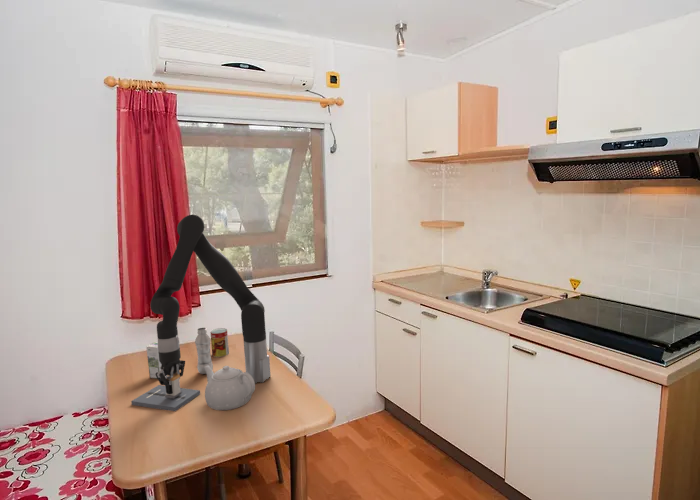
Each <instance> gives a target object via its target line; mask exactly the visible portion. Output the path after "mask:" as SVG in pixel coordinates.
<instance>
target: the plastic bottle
mask: <svg viewBox="0 0 700 500" xmlns="http://www.w3.org/2000/svg"><path fill="white" fill-rule="evenodd" d="M207 333H208V332H207V327H198V328H197V336H196V337H195V341H194V343H195V346H196V351H197V352H196V353H197V367H196V368H197V371H198V373H199V374H201V375H207V374H206V371H205V370H204V369H203V368H204V367H205V366H210V368H211V369H212V371H213V370H214V369H213V368H214V365H213V360H212V357H211V355H212V354H211V336H209V335H208V334H207Z"/></svg>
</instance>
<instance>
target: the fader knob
mask: <svg viewBox="0 0 700 500" xmlns="http://www.w3.org/2000/svg"><path fill="white" fill-rule="evenodd" d="M167 376H170V375H167ZM179 377H180V374H178V375H175V374H173V378H172V379H171V381H172V390H173V393H172V394H167V393H166V395H165V397H166V398H173V399H174V398H176V397H177V396H179V395H180V394H182V391H180V388H181V384H180V382H181V381H180V379H179ZM180 378H181V377H180ZM167 380H168V381H169V379H167Z"/></svg>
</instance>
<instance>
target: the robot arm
mask: <svg viewBox="0 0 700 500" xmlns="http://www.w3.org/2000/svg"><path fill="white" fill-rule="evenodd" d="M176 230H177V234H178V237H179V238H178V242H177V245H176V248H175V250H174V252H173V254H172V256H171V258H170V261H169V263H168V265H167V267H166V269H165V273H164V275H163V279H162V282H161V283H160V285H159V286H158V288H157V290H156V291H155V292H154V294H153V295H152V298H151V301H150V307H149V308H150V310H151V312H153V313H154V314H155V315H162V320H161V321H158V323H157V324H156V334H157V335H156V336H157V342H158V354H159V361H160V363H161V370H160V372H159V373H158V372H157V373H156V377H157V379H156V380H157V381H158V382H159V385H163V386H166V393H167V394H172V393H173V390H172V381H171V379H172V378H173V374H175V375H178V374H180V377H179V380H180V379H181V377H184V371H185V366H186V360H183V359H182V360H181V347H180V346H181V345H180V338H179V333H178V320H179V317H180V316H179V315H180V308H181V307H180V303H179V300H178V299H177V298H176V297H174V296H172V295H173V294H174V293H175V292H179V291H180V290H181V289H182V286H183V283H184V280H185V277H186V274H187V271H188V268H189V264H190V261H191V258H192V255H193V253H195V255H196V256H197V257H198V259H199V261H200V262H201V264H202V265H203V267H204V268H205V269H206V271H207V272H208V273H209V275H210V276H211V278H212V279H213V280H214V282H215V283H216V284H217V286H219V287H220V288H221V289H222V290H224V291H225V292H226V293H228V294H229V296H231V298H233V300H234V301H235V303H236V304H237V306H238V307H239V309H240V311H241V313H240V319H241V320H240V321H241V331H242V333H241V334H242V338H243V339H242V340H243V351H244V354H243V355H244V366H245V367H244V369H245V372H247V373H249V374H250V375H251V376H252V378H253V379H254V382H255V384H258V383H257V382H260V383H265V382H266V381H267V380H268V379H270V378H271V377H270V376H272V375H271V363H270V360H271V359H270V355H269V354H268V349H267V348H268V347H267V332H266V321H265V320H266V319H265V311H266V310H265V305H264V304H263V303H262V302H261V301H260V299H259V298H258V297H257V296H256V295H255V294H254V293H253V292H252V291H251V290H250V289H249V288H248V286H247V284H246V283H245V282H244V280H243V278H242V277H241V275H240V273H239V272H238V270H237V269H236V268H235V266H234V265H233V263H232V262H231V261H230V260H229V258H228V257H226V256H225V255H224V253H222V252H221V251H220V250H218V249H217V248H216V247H215V246H214V245H213V244H212V243H211V242H210V241H209V240H208V238H207V237H206V235H205V234H204V231H205V222H204V220H203V219H202V218H201V216H199V215H197V214H188V215H186V216H184V217H183V218H182V219H181V220H180V221H179V222H178V223H177V227H176ZM167 375H170V376H167ZM269 377H270V378H269ZM167 379H169V381H168V380H167ZM266 379H267V380H266ZM265 380H266V381H265ZM264 381H265V382H264Z"/></svg>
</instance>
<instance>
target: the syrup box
mask: <svg viewBox="0 0 700 500" xmlns="http://www.w3.org/2000/svg"><path fill="white" fill-rule="evenodd" d="M145 348H146V355H147V365H148V374H149V376H148V377H149V378H150V379H155V380H158V379H157V377H156V373H157V372H158V373H159V372H160V370H161V363H160V361H159V354H158V341H156V342H152V343H150V344H148V345H147V346H146V347H145Z"/></svg>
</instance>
